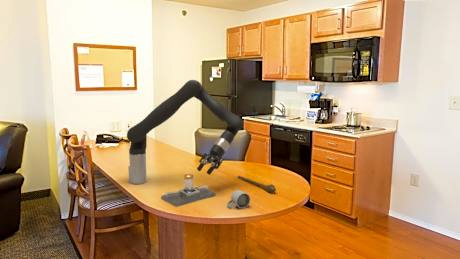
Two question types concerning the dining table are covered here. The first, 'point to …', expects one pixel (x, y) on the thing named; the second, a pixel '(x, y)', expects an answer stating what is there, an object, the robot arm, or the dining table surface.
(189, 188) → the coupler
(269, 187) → the torque wrench
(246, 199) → the ceramic mug
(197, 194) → the coupling base
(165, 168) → the dining table surface
